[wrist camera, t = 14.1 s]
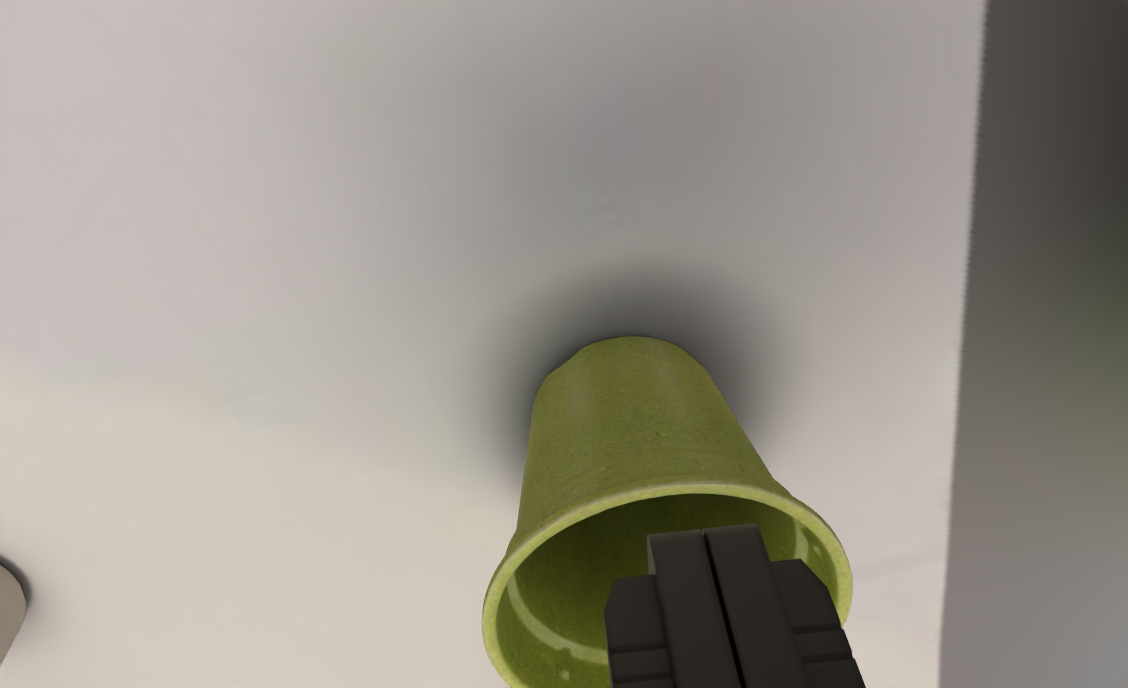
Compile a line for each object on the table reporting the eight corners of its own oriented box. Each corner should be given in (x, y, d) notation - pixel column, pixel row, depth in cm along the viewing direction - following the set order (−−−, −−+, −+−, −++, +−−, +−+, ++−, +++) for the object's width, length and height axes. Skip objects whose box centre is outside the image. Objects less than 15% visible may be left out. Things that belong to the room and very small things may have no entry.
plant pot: (787, 282, 27) (892, 477, 20) (746, 506, 33) (818, 723, 25) (478, 289, 27) (474, 492, 20) (488, 516, 32) (488, 741, 25)
